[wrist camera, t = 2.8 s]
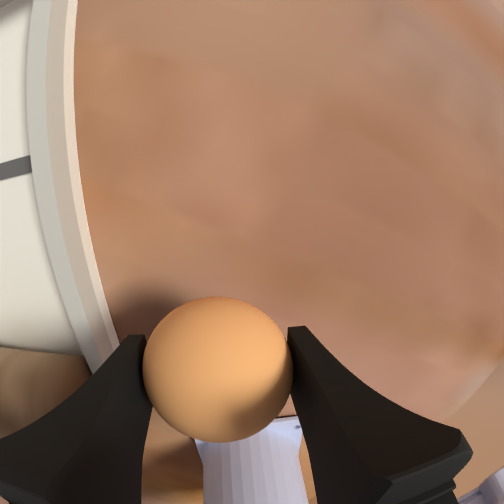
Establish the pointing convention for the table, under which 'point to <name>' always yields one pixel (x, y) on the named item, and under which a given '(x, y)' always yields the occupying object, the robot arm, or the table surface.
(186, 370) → the ball
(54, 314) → the lane
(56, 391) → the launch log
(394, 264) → the table surface
